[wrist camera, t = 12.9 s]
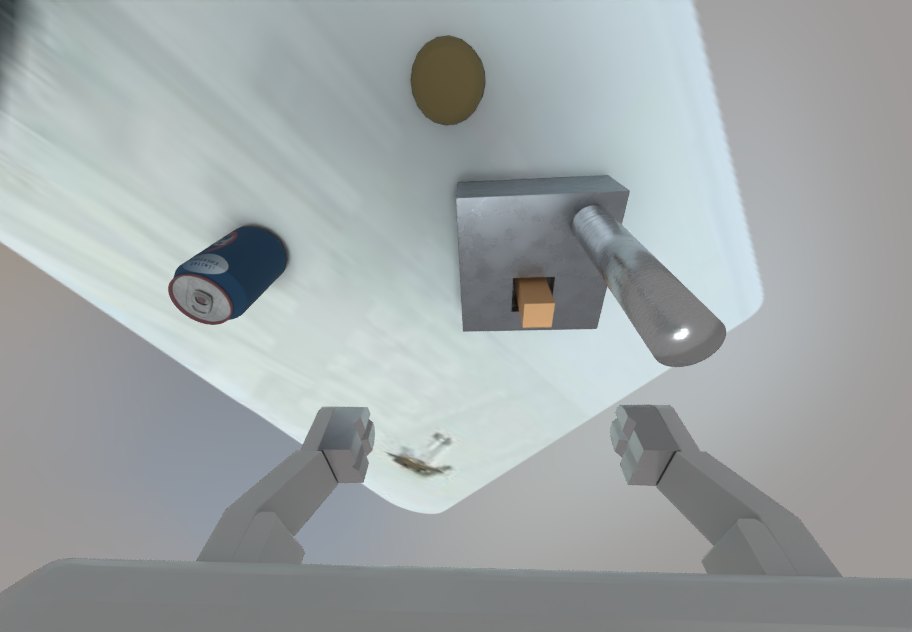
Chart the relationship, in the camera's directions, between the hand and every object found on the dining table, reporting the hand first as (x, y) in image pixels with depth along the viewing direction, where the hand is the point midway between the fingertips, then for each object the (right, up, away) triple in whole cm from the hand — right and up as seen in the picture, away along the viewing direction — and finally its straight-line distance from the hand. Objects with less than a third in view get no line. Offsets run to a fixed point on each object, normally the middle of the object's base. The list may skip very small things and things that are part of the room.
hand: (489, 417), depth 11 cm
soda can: (-25, +12, +31) cm, 42 cm away
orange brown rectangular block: (+8, +9, +31) cm, 34 cm away
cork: (-1, +25, +20) cm, 33 cm away
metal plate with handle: (+7, +12, +30) cm, 33 cm away
